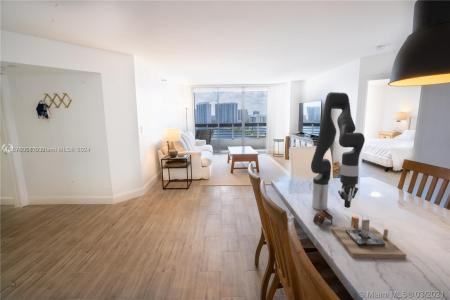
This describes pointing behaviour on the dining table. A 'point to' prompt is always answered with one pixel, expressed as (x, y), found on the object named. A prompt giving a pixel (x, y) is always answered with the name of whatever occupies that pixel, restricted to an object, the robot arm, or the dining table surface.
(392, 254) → the post base
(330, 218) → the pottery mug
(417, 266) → the dining table surface
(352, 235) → the knobbed grey plate
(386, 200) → the dining table surface
